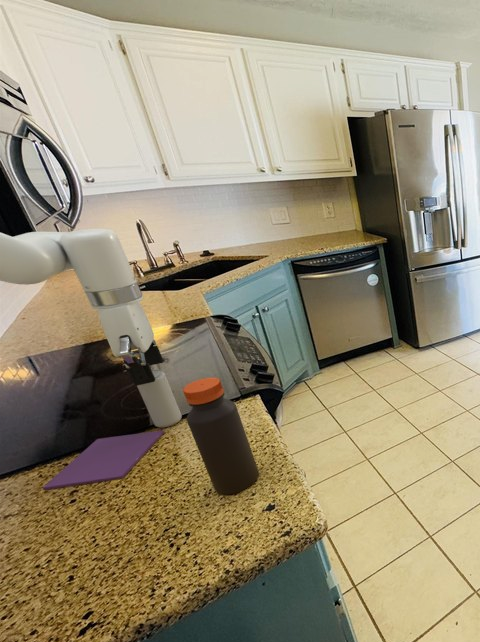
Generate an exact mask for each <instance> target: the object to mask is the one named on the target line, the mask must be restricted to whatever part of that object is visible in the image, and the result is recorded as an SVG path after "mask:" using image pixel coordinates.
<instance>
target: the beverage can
mask: <svg viewBox="0 0 480 642" xmlns="http://www.w3.org/2000/svg"><path fill="white" fill-rule="evenodd" d="M151 370H152V372H153V375H154V377H155V381H154V382H151V383H147V384H142V385H138V386H136V387H137V389H138V391H139V394H140V396H141V397H142V400H143V403H144V405H145V407H146V410H147V412H148V414H149V416H150V418H151V420H152V423H153V425H154V426H155V427H157V428H168V427H172V426H174V425H176V424H178V423H179V422H180V421H181V420H182V417H183V415H182V413H181V410H180V407H179V405H178V403H177V401H176V398H175V396H174V393H173V391H172V388H171V385H170V383H169V381H168V378H167V376H166V374H165V372H164V371H163V370H162V369H151Z"/></svg>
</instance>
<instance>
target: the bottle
mask: <svg viewBox="0 0 480 642" xmlns="http://www.w3.org/2000/svg"><path fill="white" fill-rule="evenodd" d="M182 392H183V395H184V397H185V399H186V402H187V404H188V405H189V407H191V409H190V411H189V412H188V414H187V416H186V422H187V425H188V427H189V430H190V432H191V435H192V437H193V440H194V442H195V445H196V447H197V451H198V452H199V454H200V457H201V460H202V462H203V465H204V467H205V469H206V471H207V474H208V476H209V479H210V483H211V484H212V486H213V489H214V491H215V492H216V493H217V494H219V495H223V496H228V495H233V494H238V493H240V492H242V491H245V490H246V489H248V488H249V487H251V486H252V485H253V484H254V483H255V482H256V481H257V479H258V478H259V475H260V472H259V468H258V465H257V463H256V459H255V456H254V454H253V451H252V449H251V445H250V442H249V439H248V437H247V433H246V431H245V427H244V425H243V422H242V419H241V416H240V412H239V410H238V407H237V405H236V403H235V402H234V401H233V400H230V399H228V398H225V397H224V396H225V390H224V388H223V384H222V383H221V380H220V378H218V377H205V378H200V379H197V380H194V381H192V382H190V383H188V384H186V385H185V386H184V387H183V389H182Z"/></svg>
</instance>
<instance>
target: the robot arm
mask: <svg viewBox="0 0 480 642" xmlns="http://www.w3.org/2000/svg"><path fill="white" fill-rule="evenodd" d="M69 270H73V271H74V272H75V275H76V277H77V279H78V281H79V284H80V286H81V287H82V289H83V291H84V293H85V296H86V298H87V300H88V302H89V304H90V306H91V308H92V309H93V310H97V314H98V315H97V316H98V319H99V322H100V324H101V327H102V330H103V332H104V335H105V337H106V340H107V342H108V344H109V347H110V349H111V352H112V354H113V356H114V357H115V358H117V359H118V358H121V359H122V361H123V364H124V366H125V369H126V370H127V372H128V374H129V376H130V378H131V380H132V383H133V384H134V386H136V387H137V386H138V385H142V384H147V383H151V382H154V381H155V377H154V375H153V372H152V370H153V369H152V368H151V366H154V365H158V364H159V365H160V364H163V363H164V358H163V355H162V354H161V351H160V349H159V346H158V345H157V342H156V340H155V334H154V330H153V328H152V325H151V323H150V321H149V318H148V316H147V314H146V312H145V310H144V309H143V306H142V304H141V303H140V301H143V299H144V296H143V293H142V291H141V289H140V285H139V284H138V281H137V279H136V277H135V275H134V272H133V270H132V267H131V265H130V262H129V259H128V258H127V254H126V253H125V250H124V248H123V246H122V244H121V241H120V238H119V237H118V235H117V234H116V232H115V231H113V230H112V229H110V228H87V229H78V230H77V229H76V230H73V231H31V232H25V233H21V234H18V235H15V236H11V235H9V234H7V233H6V234H5V233H3V232H0V281H1V282H4V283H8V284H14V285H25V286H26V285H28V286H29V285H36V284H40V283H43V282H45V281H47V280H49V279H51V278H52V277H54V276H56V275H59V274H61V273H64V272H66V271H69ZM137 356H138V357H137Z"/></svg>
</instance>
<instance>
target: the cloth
mask: <svg viewBox="0 0 480 642" xmlns="http://www.w3.org/2000/svg"><path fill="white" fill-rule="evenodd" d="M164 434H165V430H155V431H149V432H141V433H140V432H139V433H132V434H125V435H118V436H109V437H102V438H96V439H95V440H94V442H92V443H91V444H90V445H89V446H88V447H87V448H85V449H84V450H83V451H82V452H81V453H80V454H79V455H77V457H76V458H74V459H73V460H72V461H71V462H69V464H67V466H65V467H64V468H63V469H61V470H60V471H59V472H58V473H57V474H56V475H55V476H54V477H52V479H50V480H49V481H48V482H47V483H46V484H45V485H44V486H42V490H43V491H48V490H54V489H62V488H69V487H75V486H81V485H89V484H95V483H101V482H108V481H115V480H122V479H124V478H125V477H126V475H128V473H129V472H130V471H131V470H132V469H133V468H134V467H135V466H136V464H137V463H139V461H140V460H141V459H142V458H143V457H144V456H145V454H146V453H148V451H149V450H150V449H151V448H152V447H153V446H154V445H155V444H156V443H157V441H158V440H159V439H160V438H161V437H162V436H163V435H164Z"/></svg>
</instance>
